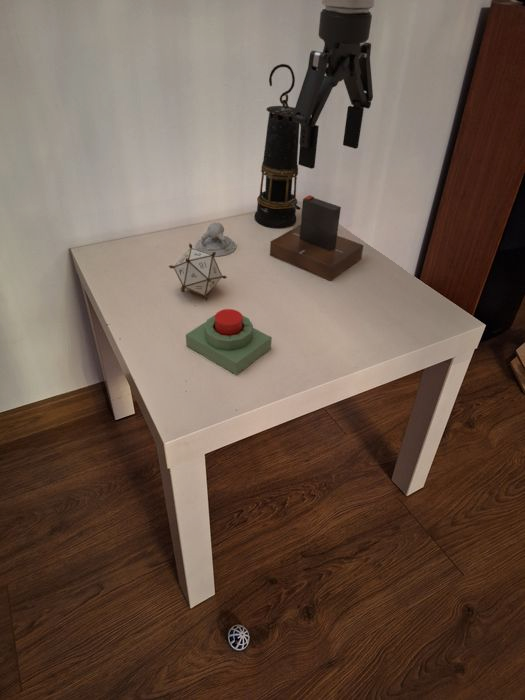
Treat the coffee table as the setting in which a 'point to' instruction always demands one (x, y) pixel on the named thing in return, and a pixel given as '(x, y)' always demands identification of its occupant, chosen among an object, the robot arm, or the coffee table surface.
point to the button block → (229, 345)
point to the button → (228, 322)
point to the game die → (198, 271)
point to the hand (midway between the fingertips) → (329, 156)
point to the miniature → (215, 241)
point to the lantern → (279, 165)
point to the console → (316, 254)
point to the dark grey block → (319, 222)
